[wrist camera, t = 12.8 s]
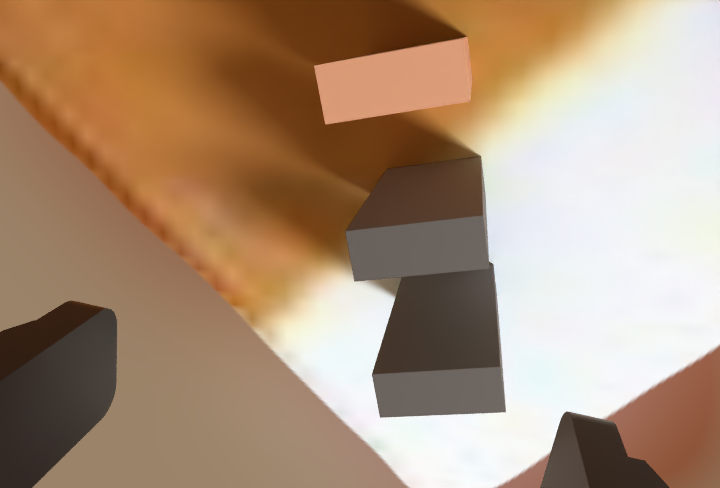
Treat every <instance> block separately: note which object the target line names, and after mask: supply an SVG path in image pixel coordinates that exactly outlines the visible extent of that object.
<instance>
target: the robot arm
mask: <svg viewBox="0 0 720 488" xmlns="http://www.w3.org/2000/svg"><path fill="white" fill-rule="evenodd" d="M116 354H117V320H116V316H115V313H114V312H113V311H112V310H111V309H108V308H103V307H98V306H93V305H90V304H85V303H80V302H75V301H68V302H65V303H64V304H62V305H60V306H59V307H57V308H55V309H54V310H52V311H51V312H49V313H47V314H46V315H44V316H42V317H41V318H39V319H38V320H36V321H31V322H28V323H25V324H22V325H19V326H16V327H12V328H10V329H6V330H3V331H1V332H0V488H32V487H33V486H34V485H35V484H36V483H37V482H38V481H39V480H40V479H41V478H42V477H43V476H44V475H45V474H46V473H47V472H48V471H49V470H50V469H51V468H52V467H53V466H54V465H55V464H56V463H58V462H59V460H61V459H62V458H63V457H64V456H65V454H66V453H68V452H69V451H70V450H71V449H72V448H73V447H74V446H75V445H76V444H77V442H79V441H80V440H81V439H82V438H83V437H84V436H85V435H86V434H87V433H88V432H89V431H90V430H91V429H92V428H93V427H94V426H95V425H96V424H97V423H98V422H99V421H100V420H101V419H102V418H103V417H104V415H105V414H106V413H107V411H108V409H109V407H110V405H111V403H112V400H113V398H114V394H115V390H116V362H117V361H116V360H117V355H116ZM541 488H669V487H668V485H667V484H666V483H665V482H664V481H663V480H662V479H661V478H660V477H659V476H658V474H656V472H655V471H654V470H653V469H652V468H651V467H650V466H649V465H648V464H647V463H646V461H644V460H638V459H635V458H630V457H628V456H627V453H626V450H625V448H624V445H623V443H622V440H621V437H620V434H619V432H618V429H617V427H616V424H615V423H614V422H612V421H608V420H603V419H599V418H594V417H590V416H585V415H581V414H576V413H572V412H565V413H564V415H563V416H562V418H561V421H560V424H559V427H558V430H557V434H556V437H555V440H554V444H553V447H552V450H551V454H550V457H549V460H548V464H547V467H546V471H545V474H544V477H543V481H542V484H541Z"/></svg>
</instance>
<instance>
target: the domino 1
mask: <svg viewBox="0 0 720 488" xmlns="http://www.w3.org/2000/svg"><path fill="white" fill-rule="evenodd" d="M314 68H315V73H316V78H317V84H318V89H319V94H320V99H321V105H322V110H323V115H324V120H325V125H326V124H332V123H338V122H344V121H351V120H357V119H363V118H370V117H376V116H382V115H388V114H395V113H401V112H407V111H413V110H420V109H426V108H432V107H438V106H445V105H451V104H457V103H464V102H470V96H471V87H472V70H471V62H470V53H469V45H468V37H463V38H457V39H452V40H446V41H441V42H435V43H430V44H424V45H419V46H414V47H408V48H403V49H397V50H392V51H386V52H381V53H375V54H370V55H365V56H360V57H355V58H350V59H345V60H340V61H335V62H330V63H325V64H320V65H315V66H314Z"/></svg>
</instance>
